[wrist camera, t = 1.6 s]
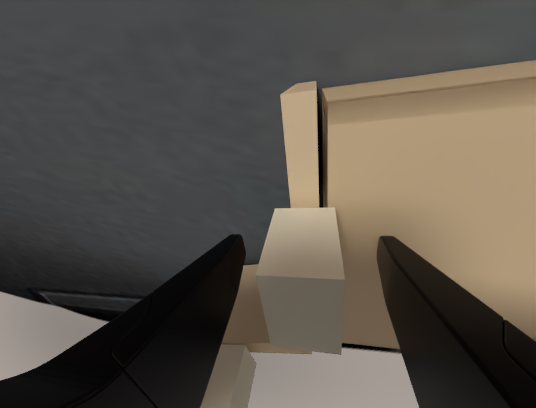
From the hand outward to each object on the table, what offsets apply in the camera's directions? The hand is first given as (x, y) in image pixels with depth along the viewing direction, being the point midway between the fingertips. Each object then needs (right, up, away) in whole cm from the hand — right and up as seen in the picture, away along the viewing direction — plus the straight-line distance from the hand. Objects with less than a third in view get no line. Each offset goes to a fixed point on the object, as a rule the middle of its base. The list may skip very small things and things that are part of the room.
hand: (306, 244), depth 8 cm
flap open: (-1, -4, +11) cm, 12 cm away
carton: (+7, +3, +6) cm, 9 cm away
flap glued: (+1, +5, +5) cm, 7 cm away
